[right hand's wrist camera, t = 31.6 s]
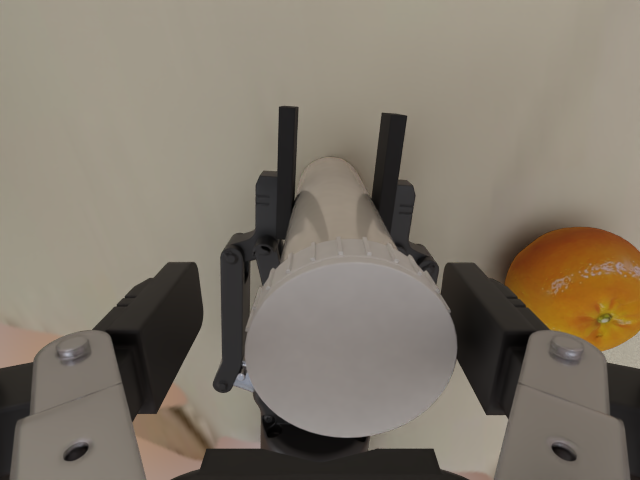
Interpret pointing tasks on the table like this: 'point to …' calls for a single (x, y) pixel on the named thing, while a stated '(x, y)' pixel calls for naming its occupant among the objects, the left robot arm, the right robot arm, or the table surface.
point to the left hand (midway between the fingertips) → (341, 111)
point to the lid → (349, 339)
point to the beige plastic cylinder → (332, 208)
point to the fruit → (581, 284)
